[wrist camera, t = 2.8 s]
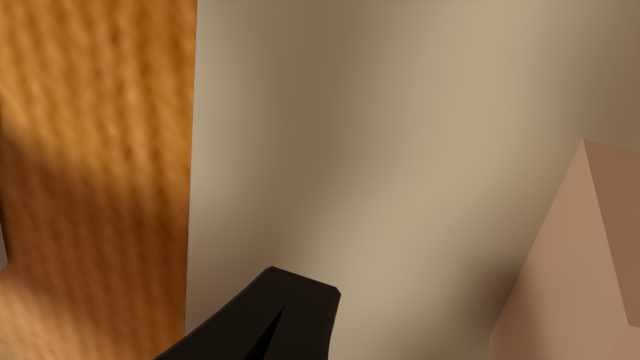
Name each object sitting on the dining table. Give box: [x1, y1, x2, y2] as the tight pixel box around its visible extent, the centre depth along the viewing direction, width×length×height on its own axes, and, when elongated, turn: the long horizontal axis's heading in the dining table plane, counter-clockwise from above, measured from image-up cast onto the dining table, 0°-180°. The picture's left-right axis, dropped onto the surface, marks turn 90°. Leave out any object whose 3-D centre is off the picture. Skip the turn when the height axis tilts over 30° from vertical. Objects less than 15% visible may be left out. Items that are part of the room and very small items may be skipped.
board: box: [184, 0, 640, 360], centre depth 13 cm, size 17×16×1 cm
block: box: [488, 139, 640, 360], centre depth 11 cm, size 2×6×6 cm, turn 170°
